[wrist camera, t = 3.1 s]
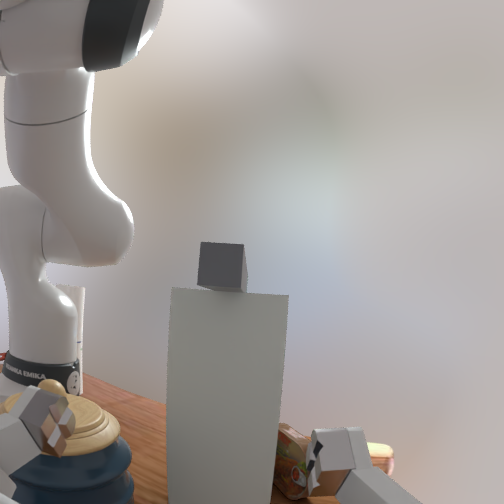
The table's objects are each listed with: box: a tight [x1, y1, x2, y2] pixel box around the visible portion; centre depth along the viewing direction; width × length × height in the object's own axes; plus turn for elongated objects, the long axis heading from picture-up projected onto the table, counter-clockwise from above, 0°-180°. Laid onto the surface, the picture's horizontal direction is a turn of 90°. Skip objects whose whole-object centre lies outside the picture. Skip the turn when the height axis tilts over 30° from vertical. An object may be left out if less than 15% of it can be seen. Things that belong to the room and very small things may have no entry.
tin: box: [273, 423, 311, 500], centre depth 36 cm, size 15×3×8 cm, turn 20°
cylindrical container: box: [56, 284, 85, 395], centre depth 62 cm, size 7×7×25 cm
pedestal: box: [166, 287, 289, 504], centre depth 33 cm, size 10×16×26 cm, turn 0°
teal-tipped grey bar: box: [197, 242, 248, 293], centre depth 30 cm, size 2×23×2 cm, turn 0°
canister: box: [0, 379, 134, 504], centre depth 18 cm, size 13×13×18 cm
